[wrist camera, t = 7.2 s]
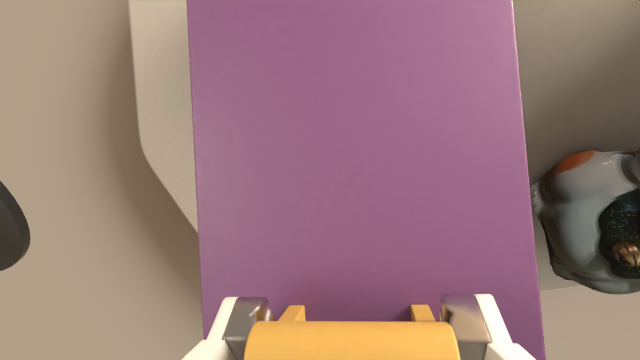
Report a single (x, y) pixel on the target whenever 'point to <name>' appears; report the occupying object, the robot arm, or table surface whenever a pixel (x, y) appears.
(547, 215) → the lucky cat figurine
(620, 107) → the table surface
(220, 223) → the lid
